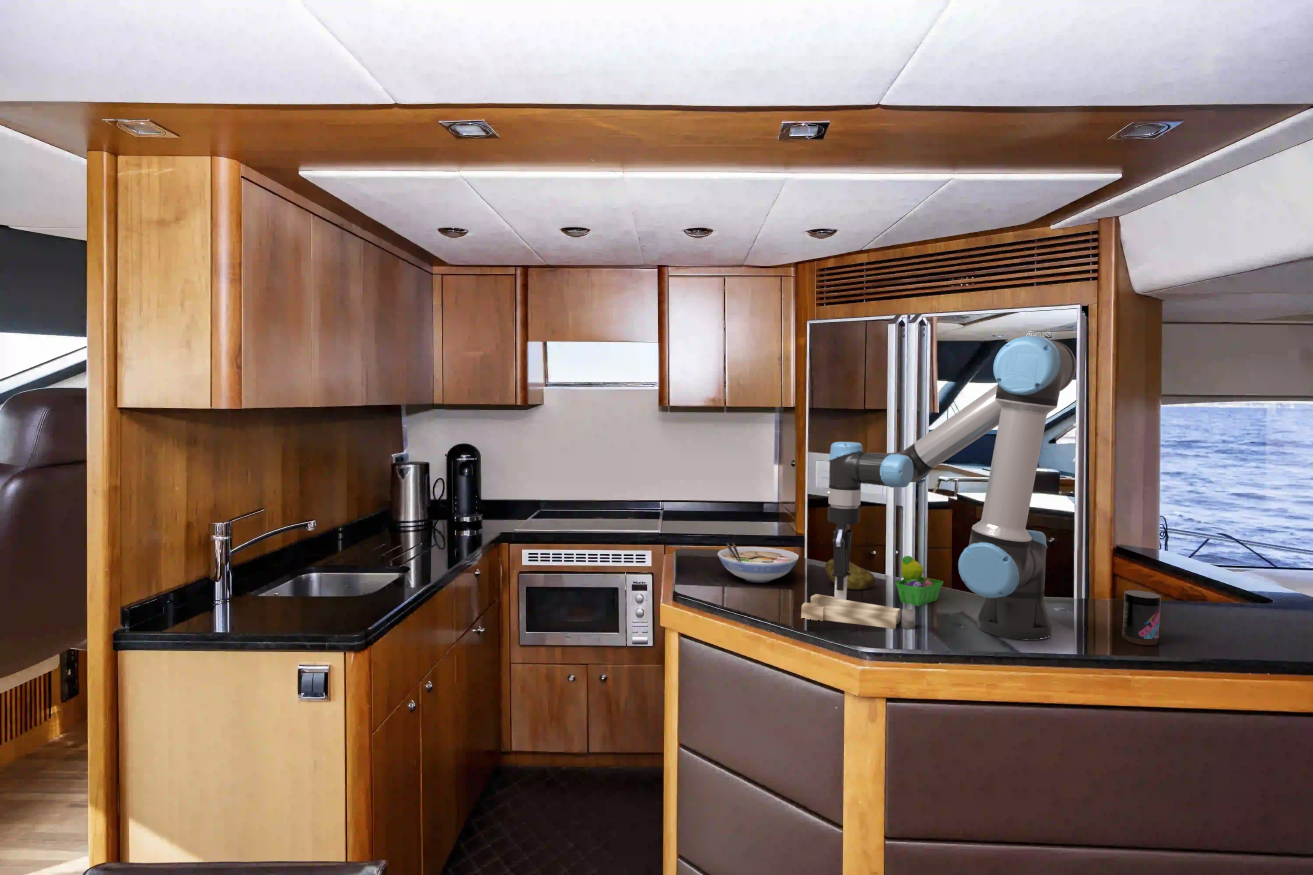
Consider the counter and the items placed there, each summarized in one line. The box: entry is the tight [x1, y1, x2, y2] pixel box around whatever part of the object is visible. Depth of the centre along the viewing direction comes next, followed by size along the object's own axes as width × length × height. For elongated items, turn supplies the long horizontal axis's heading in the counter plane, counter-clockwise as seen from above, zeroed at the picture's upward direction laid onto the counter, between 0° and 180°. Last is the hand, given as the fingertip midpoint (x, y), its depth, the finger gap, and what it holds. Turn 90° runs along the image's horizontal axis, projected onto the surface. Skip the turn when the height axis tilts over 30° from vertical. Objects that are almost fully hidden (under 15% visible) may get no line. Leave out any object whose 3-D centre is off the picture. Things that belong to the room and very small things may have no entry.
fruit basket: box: [895, 555, 944, 607], centre depth 201 cm, size 11×9×11 cm
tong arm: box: [810, 593, 901, 625], centre depth 185 cm, size 21×3×3 cm, turn 56°
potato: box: [824, 557, 876, 590], centre depth 213 cm, size 8×13×8 cm, turn 64°
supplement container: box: [1122, 589, 1162, 639], centre depth 169 cm, size 7×7×10 cm
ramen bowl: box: [717, 542, 800, 584], centre depth 221 cm, size 25×23×8 cm
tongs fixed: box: [800, 601, 916, 630], centre depth 180 cm, size 25×5×4 cm, turn 68°
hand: (840, 602), depth 190 cm, fingers closed
